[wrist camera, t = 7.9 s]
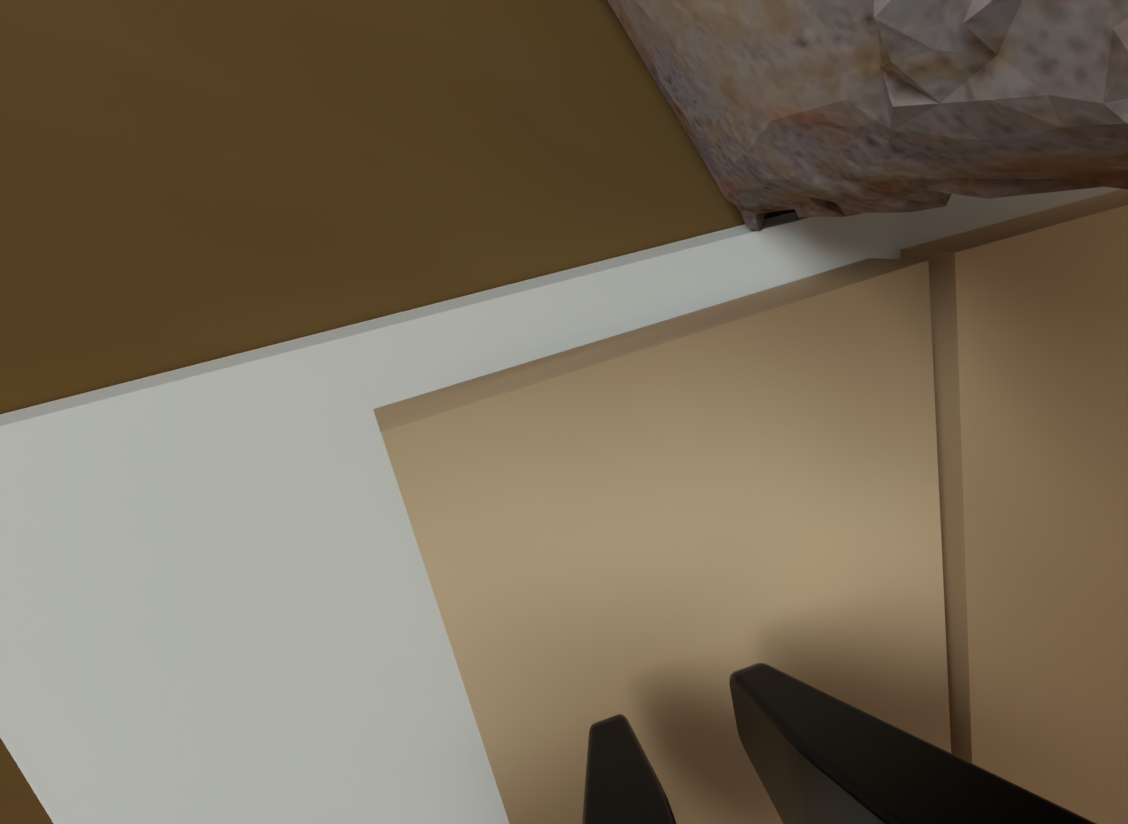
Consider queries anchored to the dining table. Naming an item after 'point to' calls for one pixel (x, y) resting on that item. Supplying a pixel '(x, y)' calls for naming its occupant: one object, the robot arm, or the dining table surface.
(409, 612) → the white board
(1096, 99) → the food item
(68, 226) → the dining table surface
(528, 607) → the click plank
